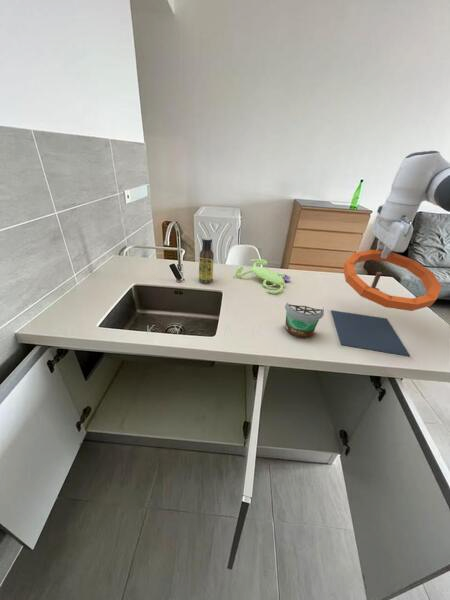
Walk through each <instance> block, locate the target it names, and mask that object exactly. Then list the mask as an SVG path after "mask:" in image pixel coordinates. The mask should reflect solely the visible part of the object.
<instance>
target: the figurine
mask: <svg viewBox="0 0 450 600" xmlns="http://www.w3.org/2000/svg"><path fill="white" fill-rule="evenodd" d="M250 262H252V263H253V266H252V267H250V268H251V269H249V270H247V271H243V270H244V267H243V266H240V267H239V268H238V269H237V270H236V272H235V274H234V276H235V277H240V278H241V277H243V276H245V275H247V274H250V273H252V272H253V274H255V275H256V276H258V277H259V278H261V280H263V281H262V285H263V286H264V287H266V292H267V293H269V294H273V295H277V294H280V293H281V292H282V291H283V290H284V285H285V284H286V282H289V281H290V280H291V276H289V275H287V274H285V273H281V272H278V273H276V272H274V271H272V270H270V269H268V268H264V267H261V266H257V265H263V266H267V265H268V261H267V260H265V259H263V258H262V259H261V258H260V259H250ZM267 282H269V283H271V285H268V284H267ZM275 286H280V287H279V288H278V289H277V290H270V289H269V288H268V287H275Z"/></svg>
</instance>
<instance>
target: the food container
mask: <svg viewBox="0 0 450 600" xmlns="http://www.w3.org/2000/svg"><path fill="white" fill-rule="evenodd" d="M284 310H285V311H286V312H285V324H284V328H285V330H286V332H287V333H288V334H289V335H291V336H293V337H294V338H297V339H308V338H310V337H312V336H313V334H314V332H315V330H316V328H317V326H318V323H319V322H320V320H321V319H322V318H323V317H324V315H325V309H324V307H323V308H322V309H321V308H314V307H310V306H308V305H295V304H289V301H287V302H286V303H285V305H284Z"/></svg>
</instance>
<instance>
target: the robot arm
mask: <svg viewBox="0 0 450 600" xmlns="http://www.w3.org/2000/svg"><path fill="white" fill-rule="evenodd" d="M390 187H391V188H390V193H389V194H388V196H387V197H386V199H385V202H384V204H381V205H378V207H377V210H376V213H377V215H376V216H375V218H374V223H373V226H372V230H371V231H372V235H373V236H375V238H376V239H378V240H377V247H376V250H379V251H382V252H381V253H380V257H381V258H384V259H386V258H387V256H388V254H389V253H390V252H394V253H404V252H405V251H406V250H407V249H408V246H409V244H410V241H411V239H412V236H413V233H414V226H413V223H412V222H413V221H414V219H415V217H416V215H417V212H418V210H419V208H420V206H421V204H422V203H423V202H428V203H430V204H432V205H434V206H437V207H439V208H441V209H443V210H444V211H446V212H447V213H450V162H449V161H448V160H446V159H445V158H444V157H443V155H441V152H440V151H437V150H426V151H417V152H412V153H410V154H408V155H406V156H405V157H404V159H403V160H402V162H401V163H400V165H399V167H398V169H397V171H396V173H395V176H394V178H393V180H392V183H391V186H390Z"/></svg>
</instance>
